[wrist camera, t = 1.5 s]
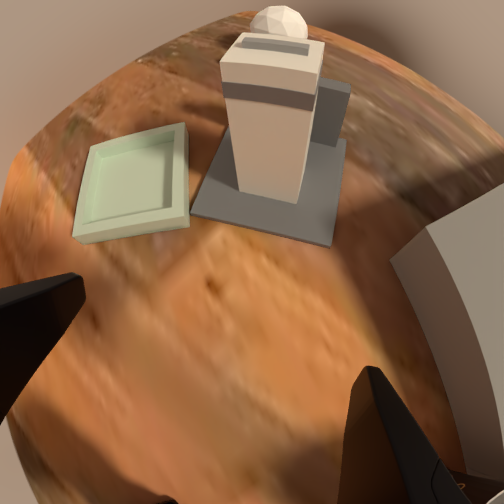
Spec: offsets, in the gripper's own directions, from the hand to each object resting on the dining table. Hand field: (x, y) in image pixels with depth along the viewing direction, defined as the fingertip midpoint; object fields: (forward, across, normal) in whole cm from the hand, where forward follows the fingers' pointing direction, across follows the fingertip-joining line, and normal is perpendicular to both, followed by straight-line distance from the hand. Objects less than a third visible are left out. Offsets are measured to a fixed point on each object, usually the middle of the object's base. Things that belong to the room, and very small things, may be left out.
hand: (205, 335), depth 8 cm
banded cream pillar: (+19, +2, -1) cm, 19 cm away
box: (+17, -32, +3) cm, 37 cm away
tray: (+17, +14, +2) cm, 23 cm away
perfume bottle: (+36, +8, -17) cm, 40 cm away
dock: (+20, +2, -1) cm, 20 cm away
